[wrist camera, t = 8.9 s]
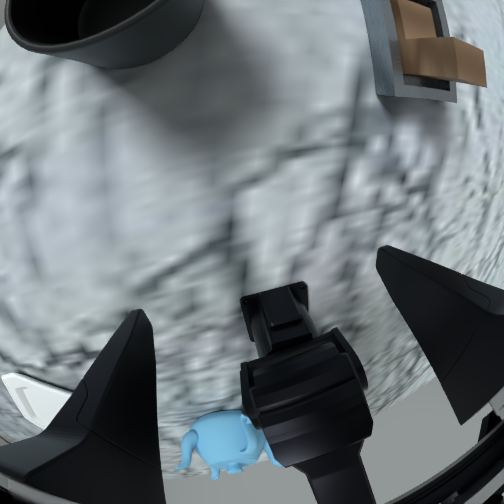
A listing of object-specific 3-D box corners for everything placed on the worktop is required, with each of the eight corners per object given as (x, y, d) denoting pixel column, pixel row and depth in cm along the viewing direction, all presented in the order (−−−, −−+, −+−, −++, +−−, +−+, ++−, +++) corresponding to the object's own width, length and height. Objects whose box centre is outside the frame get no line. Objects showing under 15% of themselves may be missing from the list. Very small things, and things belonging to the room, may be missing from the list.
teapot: (255, 394, 36) (270, 455, 28) (276, 423, 45) (289, 468, 36) (168, 414, 36) (172, 471, 28) (206, 439, 45) (213, 483, 36)
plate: (130, 444, 44) (130, 452, 42) (29, 415, 35) (27, 423, 33) (140, 401, 34) (140, 413, 32) (-2, 355, 24) (-6, 366, 23)
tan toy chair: (426, 78, 16) (486, 87, 11) (394, 73, 16) (458, 78, 10) (415, 10, 13) (473, 5, 7) (382, 1, 12) (441, -14, 6)
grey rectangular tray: (438, 99, 18) (456, 103, 16) (376, 94, 17) (395, 96, 15) (422, -1, 12) (440, -4, 10) (354, -21, 11) (371, -29, 9)
